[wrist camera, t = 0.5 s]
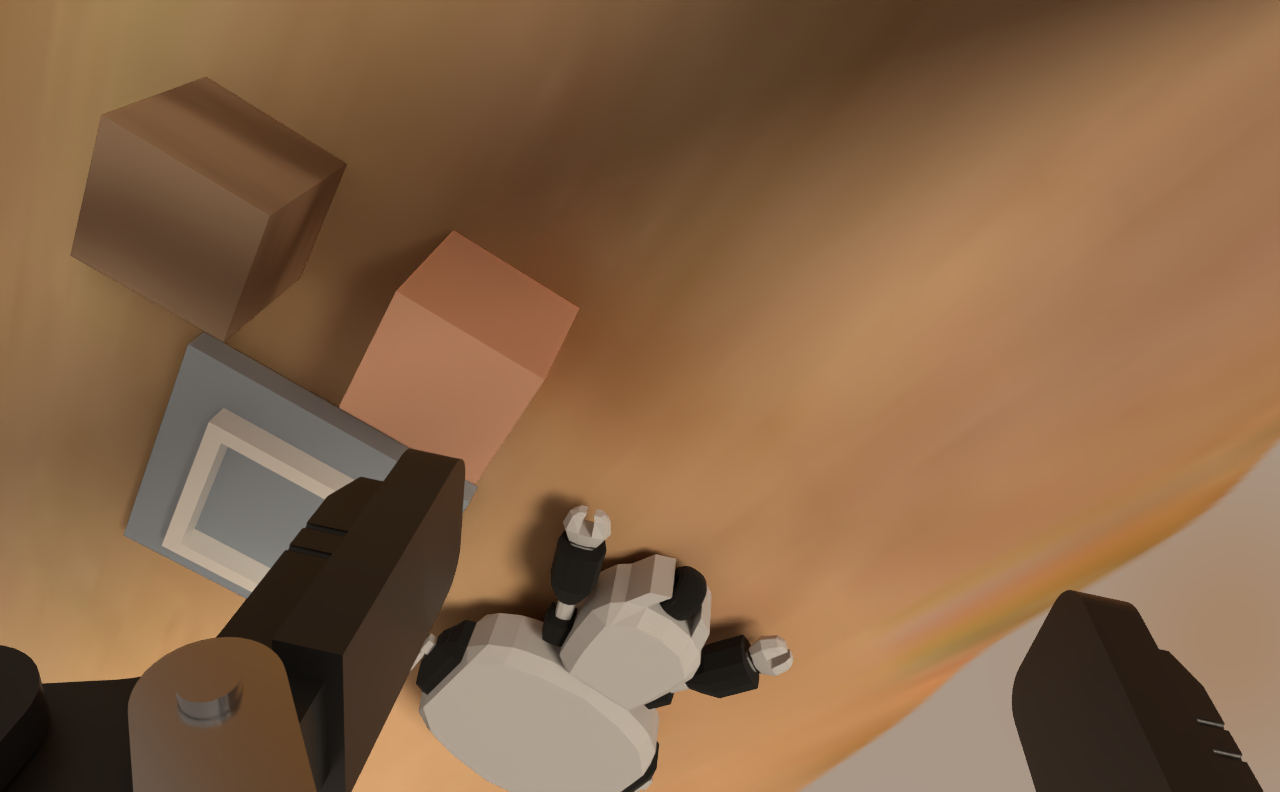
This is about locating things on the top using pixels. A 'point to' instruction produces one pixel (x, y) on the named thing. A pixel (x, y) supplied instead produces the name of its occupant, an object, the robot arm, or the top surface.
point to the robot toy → (583, 671)
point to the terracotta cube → (459, 354)
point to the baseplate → (246, 466)
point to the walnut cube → (203, 204)
